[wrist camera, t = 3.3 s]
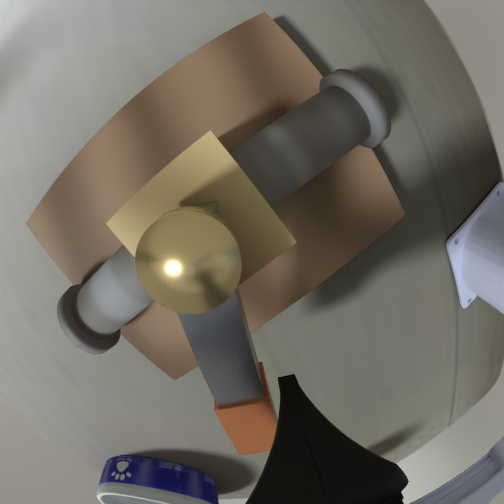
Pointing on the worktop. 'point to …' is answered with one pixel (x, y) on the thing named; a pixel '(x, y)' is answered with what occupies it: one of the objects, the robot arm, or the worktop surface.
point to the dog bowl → (154, 483)
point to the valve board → (233, 117)
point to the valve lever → (210, 315)
